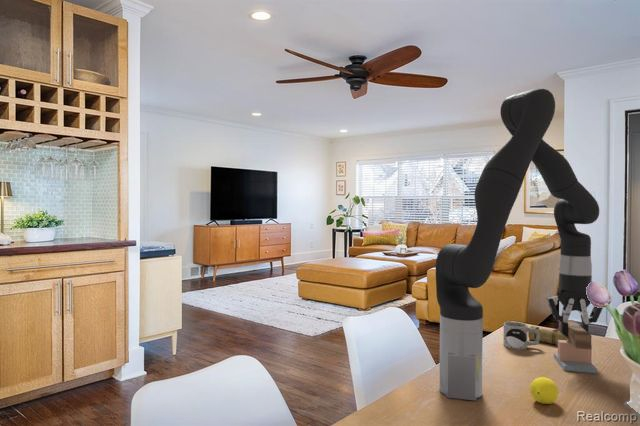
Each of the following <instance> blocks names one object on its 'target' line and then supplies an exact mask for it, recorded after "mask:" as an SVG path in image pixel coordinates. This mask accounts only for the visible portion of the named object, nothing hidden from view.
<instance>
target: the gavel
mask: <svg viewBox="0 0 640 426" xmlns="http://www.w3.org/2000/svg"><path fill="white" fill-rule="evenodd" d="M529 328H533V329H537V330H538V331H539V336H540V338H539V343H540V342H541V343H547V344H549V345H550V344H551V345H555V346H557V347H558V340H566V341H568V340H567V339H566V338H565V337H564V336H563V335H562V334H561V333H560V327H558V328H556V329H552V330H551V329H544V328H539V326H534V325H531V326H530V327H529ZM527 338H528V339H529V340H528V341H532V342H534V341H535V340H536V334H535V333H534V332H527Z"/></svg>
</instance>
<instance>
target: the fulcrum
mask: <svg viewBox="0 0 640 426" xmlns="http://www.w3.org/2000/svg"><path fill="white" fill-rule="evenodd" d="M592 349H593V347H592V344H591V349H578V348H575V347H574V346H573V345H572V344H571V343H570V342H569V341H568V340H567V341H566V340H558V346H557V352H553V358H554V359H555V360H556V362H557V363H558V365H559V366H560V367H561V369H562V370H563V371H566V372H577V373H589V374H598V368H597V366H595V365H594V364H593V363H592V358H593V357H592V356H593V355H592Z"/></svg>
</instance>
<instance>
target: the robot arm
mask: <svg viewBox="0 0 640 426" xmlns="http://www.w3.org/2000/svg"><path fill="white" fill-rule="evenodd" d="M555 110H556V100H555V97H554V95H553V93H552V92H551V91H550V90H549V89H545V88H534V89H531V90H527V91H523V92H519V93H516V94H512V95H510V96H507V97H506V98H505V99H504V100H503V101H502V103H501V106H500V110H499V111H500V118H501V121H502V122H503V125H504V126H505V128H506V130H507V131H508V132H509V134H510V135H511V137H510V138H509V140H508V141H507V142H506V143H505V144H504V145H503V146H502V147H501V148H500V149H499V150H498V151H497V152H496V153H495V154H494V155H493V156H492V157H491V158H490V159H489V160H488V162H487V163H486V164H485V165H484V167H483V169H482V171H481V174H480V177H479V179H478V181H477V184H476V185H475V186H476V187H475V189H474V195H473V196H474V204H475V205H474V206H475V211H476V216H477V222H476V226H475V229H474V232H473V235H472V237H471V239H470V241H469V243H468V244H458V243H449V244H446V245H444V246H442V248H441V249H440V250H439V252H438V254H437V257H436V259H435V260H436V261H435V289H436V291H435V292H436V300H437V303H438V306H439V312H440V314H439V391H440V392H441V393H442V394H443V395H445V396H446V398H448V399H449V398H450V399H457V400H465V401H466V400H467V401H477V399H479V398H481V396H482V395H483V336H484V335H483V334H484V333H483V327H484V326H483V323H484V321H483V319H484V307H483V304H482V303H481V302H479V301H478V300H477V299H476V298H475V297H474V296H473V295H472V294H471V292H470V289H478V288H481V287H482V286H484V285H485V283H486V282H487V281H488V279H489V278H490V276H491V274H492V271H493V269H494V266H495V261H496V258H497V254H498V251H499V247H500V244H501V241H502V240H501V239H502V237H503V233H504V231H505V228H506V225H507V222H508V220H509V217H510V214H511V212H512V208H513V207H514V205H515V202H516V200H517V198H518V196H519V193H520V191H521V188H522V187H523V186H522V185H523V184H524V183H523V182H524V180H525V178H526V177H525V176H526V174H527V171H528V169H529V167H530V165H531V163H533V164H534V166H535V167H536V170H538V173H539V174H540V176H541V177H542V180H543V181H544V184H545V185H546V188H547V189H548V191H549V193H550V194H551V196H553V198H557V199H558V200H557V202H556V203H555V205H554V206H553V207H554V208H553V217H554V221H555V224H556V227H557V231H558V235H559V239H560V257H559V263H558V264H559V265H558V271H559V274H558V292H557V294H556V295H554V296H552V297H550V296H547V297H546V301H547V304H548V307H549V309H550V311H551V314H552V317H553V318H554V319H555V320H556V321H559V322H560V321H561V333H562V334H563V335H564V336H565V337H568V323H567V322H568V320H570V315H571V313H572V312H573V311H577V312H578V313H579V315H580V319H581V322H580V324H579V325H580V326H581V327H582V328H583V329H584V330H586V331H587V332H588V333H589V325H590V324H592V323H597V322H598V320H599V318H600V315H601V313H602V311H603V309H604V307H603V308H597V307H595V306H593V307H592V310H591V313H590V315H589V312H588V309H587V308H589V306H590V305H591V303H590V301H589V300H588V298H587V295H586V287H587V286H588V284H589V283H590V282H592V281H593V280H592V279H593V277H592V276H593V275H592V272H593V271H592V269H593V264H592V255H591V254H592V250H591V249H592V239H591V237H590V235H589V234H587V233H585V232H584V233H583V232H582V231H581V232H580V231H579V230H578V229H577V227H576V225H590V224H593V223H595V222H596V221H597V220H598V218H599V215H600V206H599V202H597V199H596V198H595V197H594V195H592V193H590V191H588V189H586V187H585V186H584V185H583V184H582V183H580V181H579V180H578V178H577V175H576V174H575V171H574V170H573V168H572V166H571V164H570V163H569V161H568V160H567V159H566V157H565V156H564V155H562V154H561V153H560V152H559V151H558V150H556V149H555V148H554V147H552V145H550V144H549V143H547V142H546V141H545V140H544V136H545V135H546V133H547V131H548V129H549V127H550V126H551V123H552V121H553V118H554V116H555ZM469 288H470V289H469ZM558 301H559V302H560V303H561V305H562V309H561V314H560V313H559V311H558V309H557V305H558Z"/></svg>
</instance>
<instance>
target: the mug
mask: <svg viewBox="0 0 640 426" xmlns="http://www.w3.org/2000/svg"><path fill="white" fill-rule="evenodd" d="M528 332H534V333H535V334H536V340H535V341H531V340H528ZM539 338H540V336H539V331H538V330H537V329H533V328H530V327H528V324H526V323H524V322H517V321H504V322H503V340H502V341H503V347H504V348H507V349H510V350H516V351H517V350H519V351H520V350H521V351H522V350H523V351H524V350H528V346H537V345H539V343H540V341H539Z"/></svg>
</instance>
